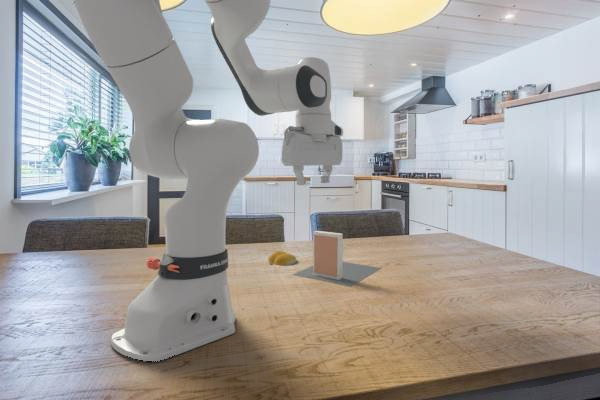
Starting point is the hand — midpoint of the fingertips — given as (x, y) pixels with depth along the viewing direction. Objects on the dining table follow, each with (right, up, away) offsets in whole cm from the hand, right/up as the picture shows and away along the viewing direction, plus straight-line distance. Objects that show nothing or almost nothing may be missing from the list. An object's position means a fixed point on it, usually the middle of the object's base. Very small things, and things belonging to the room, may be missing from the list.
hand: (313, 183), depth 91 cm
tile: (+4, -25, +7) cm, 26 cm away
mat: (+7, -25, +12) cm, 29 cm away
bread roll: (-9, -25, +23) cm, 35 cm away
